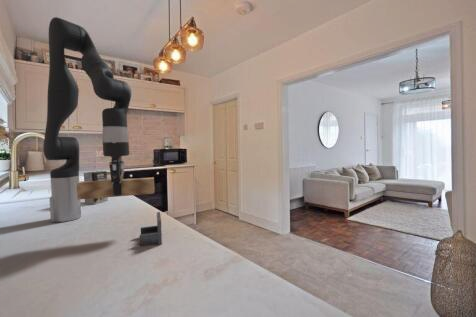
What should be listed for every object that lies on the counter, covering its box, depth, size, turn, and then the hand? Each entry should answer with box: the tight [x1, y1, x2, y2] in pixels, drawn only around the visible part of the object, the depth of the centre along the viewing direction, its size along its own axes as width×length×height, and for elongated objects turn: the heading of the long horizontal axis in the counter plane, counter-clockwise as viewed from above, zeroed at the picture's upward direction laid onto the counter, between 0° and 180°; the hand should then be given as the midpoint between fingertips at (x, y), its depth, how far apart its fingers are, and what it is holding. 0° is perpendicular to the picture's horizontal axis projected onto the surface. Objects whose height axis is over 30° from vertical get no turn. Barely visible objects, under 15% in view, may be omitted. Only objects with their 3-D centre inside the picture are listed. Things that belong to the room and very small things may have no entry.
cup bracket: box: [139, 211, 163, 247], centre depth 72 cm, size 6×10×7 cm, turn 20°
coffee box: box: [83, 170, 109, 205], centre depth 122 cm, size 9×6×16 cm
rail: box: [77, 176, 155, 201], centre depth 76 cm, size 22×4×5 cm, turn 109°
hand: (118, 193), depth 76 cm, fingers closed on rail, 4 cm apart
